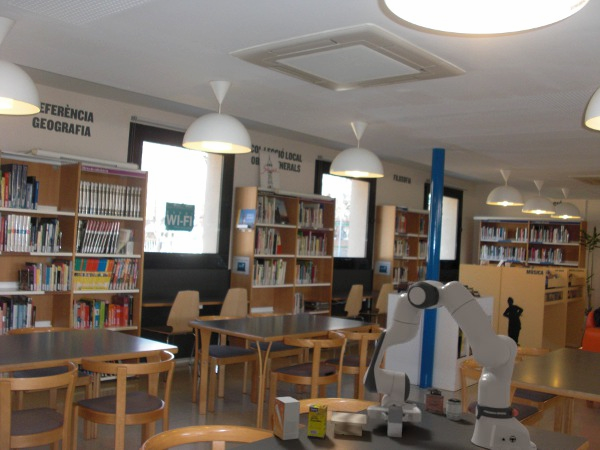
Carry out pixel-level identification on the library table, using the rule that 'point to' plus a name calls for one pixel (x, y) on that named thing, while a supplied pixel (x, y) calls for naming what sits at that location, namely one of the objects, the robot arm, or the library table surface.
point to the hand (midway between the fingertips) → (395, 419)
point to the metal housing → (394, 421)
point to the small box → (286, 418)
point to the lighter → (434, 401)
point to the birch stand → (348, 423)
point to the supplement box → (317, 421)
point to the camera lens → (454, 409)
